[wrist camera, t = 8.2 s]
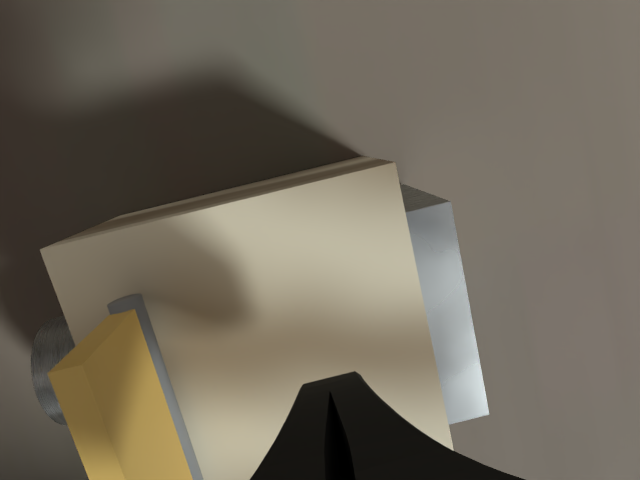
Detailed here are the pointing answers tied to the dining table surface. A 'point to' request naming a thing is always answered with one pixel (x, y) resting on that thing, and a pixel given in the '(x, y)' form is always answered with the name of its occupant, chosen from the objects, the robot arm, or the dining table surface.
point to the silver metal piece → (439, 300)
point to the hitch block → (266, 301)
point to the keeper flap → (124, 401)
